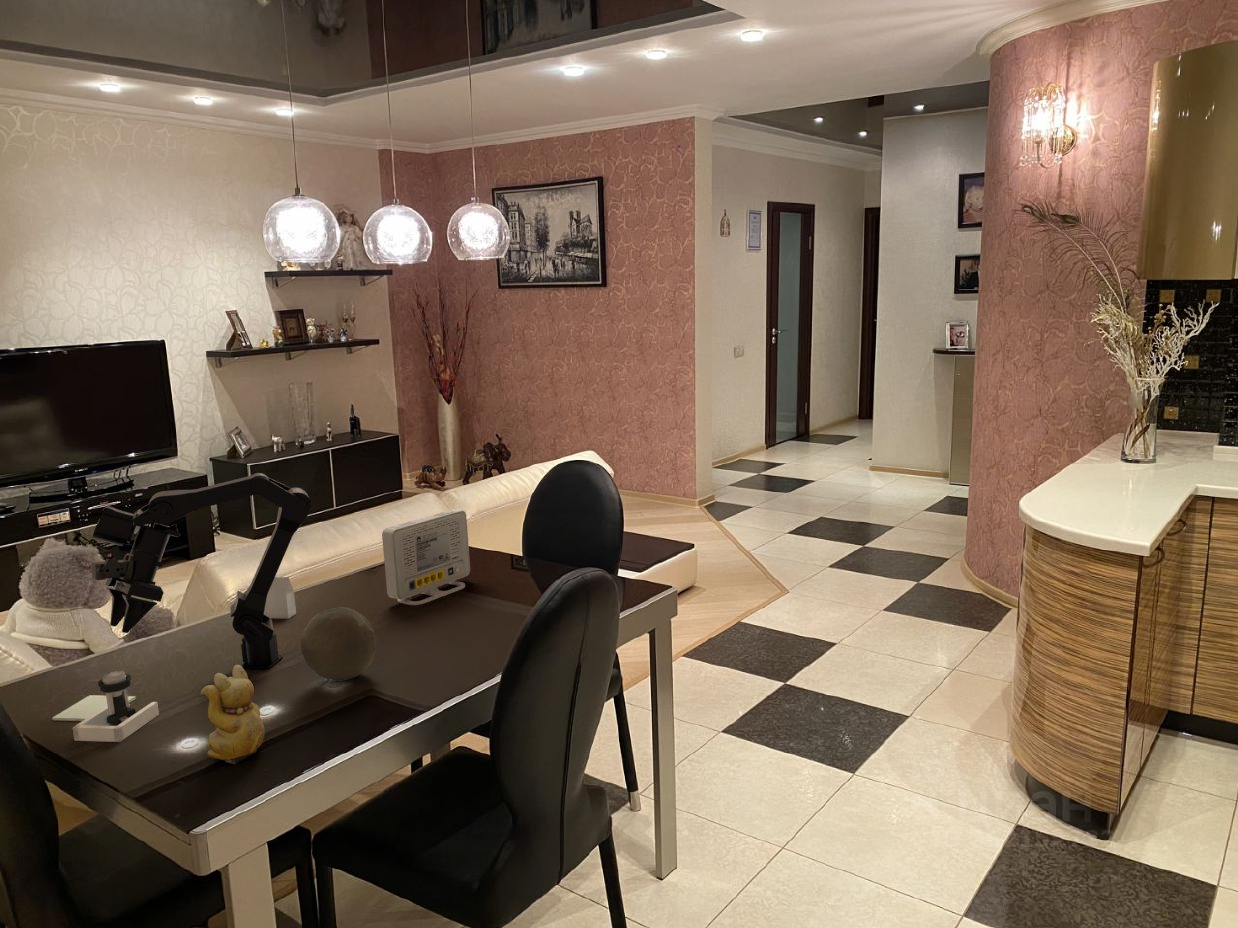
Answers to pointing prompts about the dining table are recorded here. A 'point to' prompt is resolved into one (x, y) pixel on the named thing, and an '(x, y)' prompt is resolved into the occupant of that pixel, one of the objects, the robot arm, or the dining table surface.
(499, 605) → the dining table surface
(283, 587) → the white faceted block
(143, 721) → the white u-shaped bracket
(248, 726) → the decorative figurine
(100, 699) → the mat
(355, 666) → the cantaloupe
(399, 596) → the network device
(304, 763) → the dining table surface
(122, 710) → the push button
